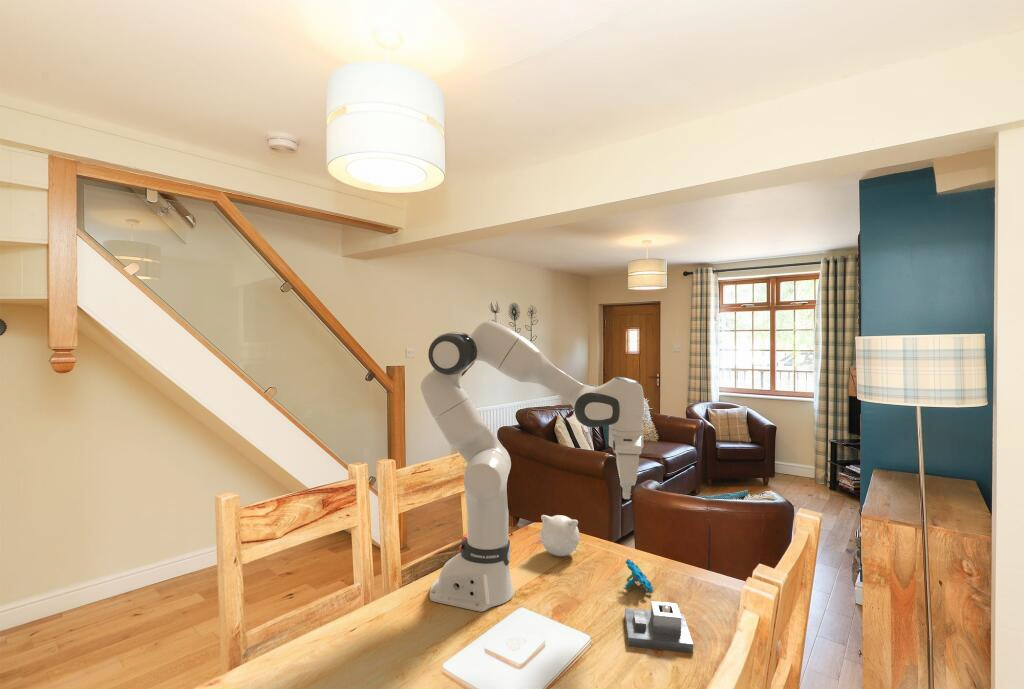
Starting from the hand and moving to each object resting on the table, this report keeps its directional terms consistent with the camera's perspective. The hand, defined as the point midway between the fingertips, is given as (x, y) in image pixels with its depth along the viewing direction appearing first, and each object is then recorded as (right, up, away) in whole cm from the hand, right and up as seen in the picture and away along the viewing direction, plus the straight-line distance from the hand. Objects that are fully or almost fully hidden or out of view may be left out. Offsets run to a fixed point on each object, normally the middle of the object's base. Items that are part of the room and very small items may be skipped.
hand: (625, 492), depth 131 cm
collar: (+7, -28, -13) cm, 31 cm away
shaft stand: (+5, -30, -13) cm, 33 cm away
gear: (+6, -29, +8) cm, 31 cm away
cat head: (-14, -28, +28) cm, 43 cm away
